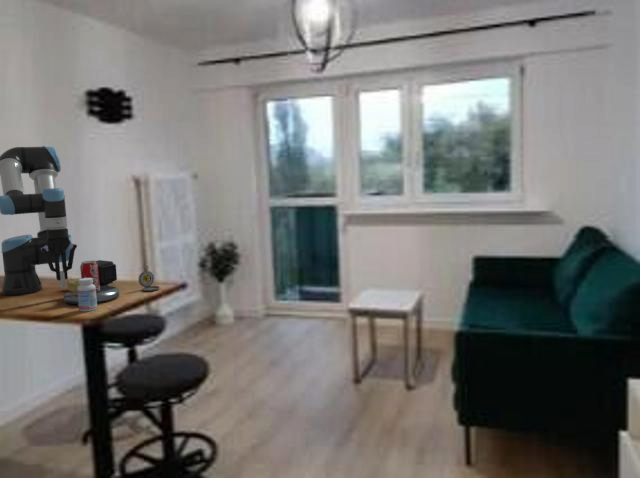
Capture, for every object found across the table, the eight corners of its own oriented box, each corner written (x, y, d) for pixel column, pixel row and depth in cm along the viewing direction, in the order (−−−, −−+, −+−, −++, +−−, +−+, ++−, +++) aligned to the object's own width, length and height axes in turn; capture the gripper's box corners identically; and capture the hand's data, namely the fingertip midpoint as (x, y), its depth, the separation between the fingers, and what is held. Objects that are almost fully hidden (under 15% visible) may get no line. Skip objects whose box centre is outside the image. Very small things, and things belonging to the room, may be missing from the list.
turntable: (47, 300, 214) (45, 285, 213) (91, 289, 231) (90, 275, 230) (87, 305, 202) (85, 289, 202) (130, 293, 220) (129, 278, 219)
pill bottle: (75, 311, 198) (72, 280, 197) (88, 307, 204) (85, 277, 202) (88, 312, 196) (85, 281, 195) (101, 308, 202) (98, 277, 200)
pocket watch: (154, 292, 225) (152, 267, 223) (135, 291, 226) (133, 267, 225) (164, 287, 233) (162, 263, 231) (145, 287, 234) (144, 263, 233)
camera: (81, 289, 240) (101, 289, 231) (77, 263, 239) (96, 262, 230) (103, 284, 248) (123, 284, 239) (99, 259, 247) (119, 258, 238)
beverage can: (89, 294, 211) (86, 263, 210) (79, 293, 215) (76, 262, 213) (103, 291, 217) (100, 260, 215) (93, 289, 220) (90, 259, 218)
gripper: (40, 230, 209) (46, 292, 212) (77, 227, 216) (83, 286, 219) (36, 229, 215) (43, 289, 218) (72, 226, 222) (78, 284, 225)
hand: (63, 288), depth 219 cm, fingers closed
